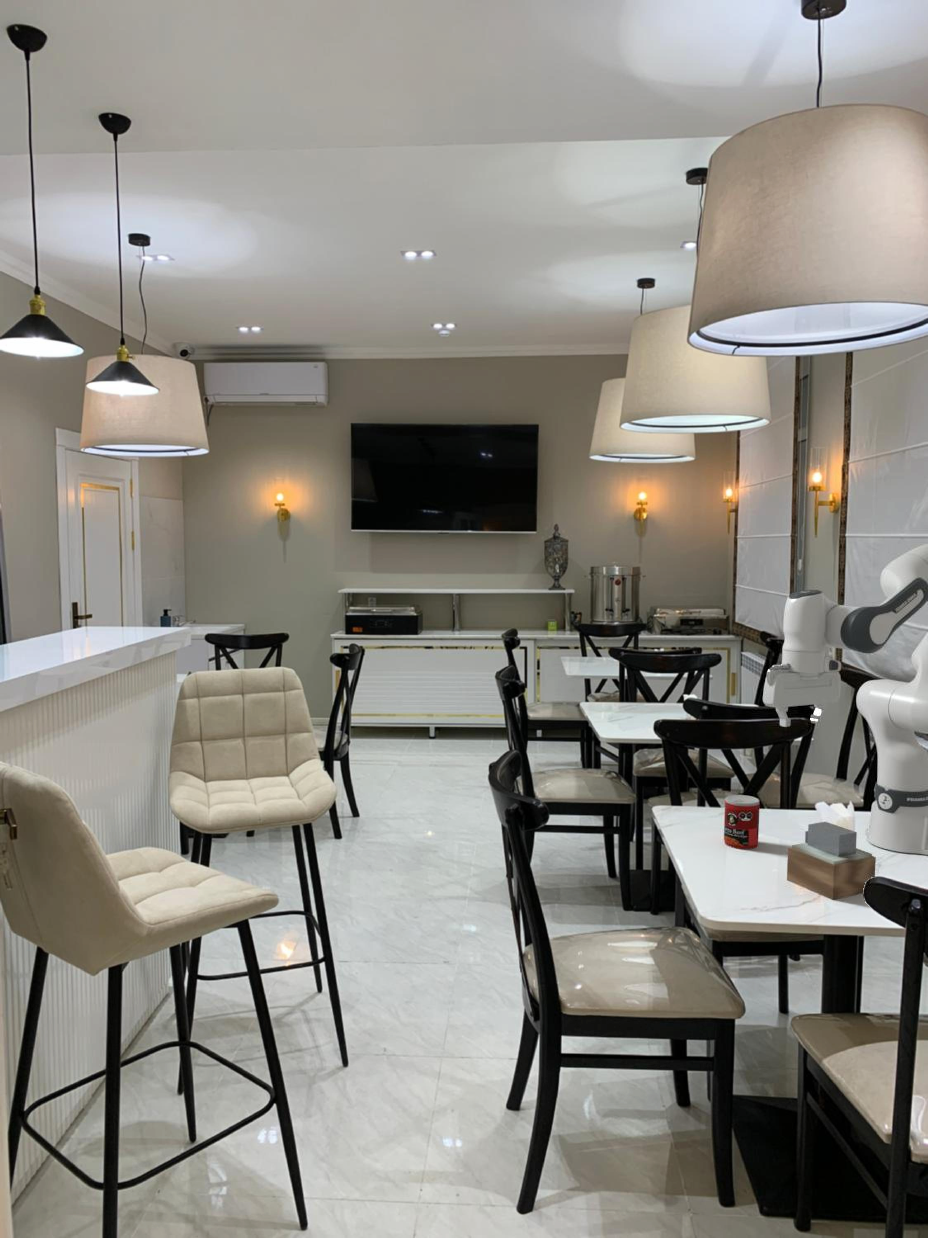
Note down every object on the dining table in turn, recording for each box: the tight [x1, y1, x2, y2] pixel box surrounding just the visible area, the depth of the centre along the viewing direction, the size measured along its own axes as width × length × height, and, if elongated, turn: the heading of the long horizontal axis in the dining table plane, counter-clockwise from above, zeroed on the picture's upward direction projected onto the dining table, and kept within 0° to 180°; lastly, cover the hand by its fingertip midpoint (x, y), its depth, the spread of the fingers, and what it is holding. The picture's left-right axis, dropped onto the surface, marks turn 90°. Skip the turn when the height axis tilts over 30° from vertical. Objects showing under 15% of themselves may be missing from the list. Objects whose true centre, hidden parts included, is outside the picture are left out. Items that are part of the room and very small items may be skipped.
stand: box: [786, 842, 877, 901], centre depth 185 cm, size 12×12×8 cm
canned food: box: [723, 794, 761, 850], centre depth 211 cm, size 8×8×11 cm
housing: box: [804, 821, 858, 857], centre depth 185 cm, size 10×5×4 cm, turn 26°
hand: (800, 724), depth 198 cm, fingers open, 8 cm apart
